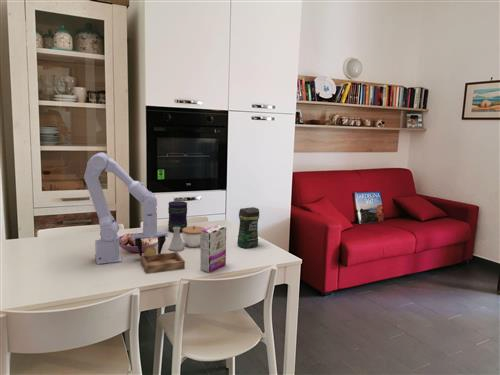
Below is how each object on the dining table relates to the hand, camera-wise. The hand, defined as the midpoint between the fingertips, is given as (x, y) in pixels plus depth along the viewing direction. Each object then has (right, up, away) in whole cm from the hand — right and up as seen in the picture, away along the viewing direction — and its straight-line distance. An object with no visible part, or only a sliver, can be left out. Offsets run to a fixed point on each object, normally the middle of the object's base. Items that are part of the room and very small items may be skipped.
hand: (150, 254), depth 166 cm
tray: (+7, -3, -7) cm, 11 cm away
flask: (+9, 0, +14) cm, 16 cm away
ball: (0, -2, 0) cm, 2 cm away
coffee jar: (+41, 0, +22) cm, 47 cm away
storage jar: (+4, +5, +43) cm, 43 cm away
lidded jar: (+16, +1, +20) cm, 25 cm away
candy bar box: (+27, -4, -7) cm, 28 cm away
